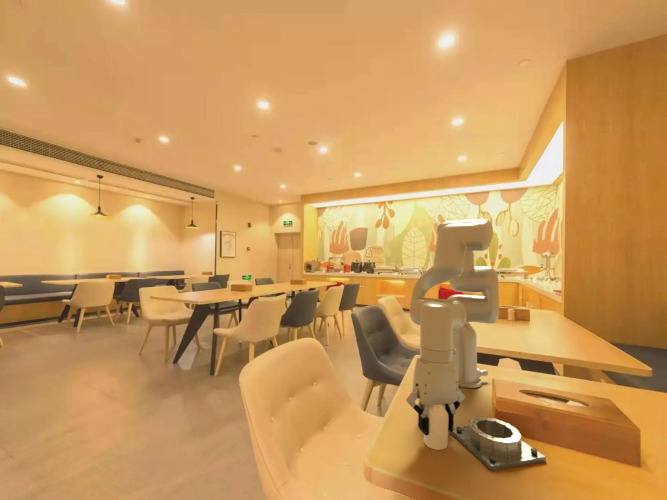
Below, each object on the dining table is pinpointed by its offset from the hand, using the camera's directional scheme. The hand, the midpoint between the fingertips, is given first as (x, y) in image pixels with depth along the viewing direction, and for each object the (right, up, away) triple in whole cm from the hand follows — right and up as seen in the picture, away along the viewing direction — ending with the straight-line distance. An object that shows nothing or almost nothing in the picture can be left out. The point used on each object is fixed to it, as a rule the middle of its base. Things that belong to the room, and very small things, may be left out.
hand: (435, 429), depth 70 cm
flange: (+14, -3, -1) cm, 14 cm away
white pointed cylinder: (0, -3, 0) cm, 3 cm away
